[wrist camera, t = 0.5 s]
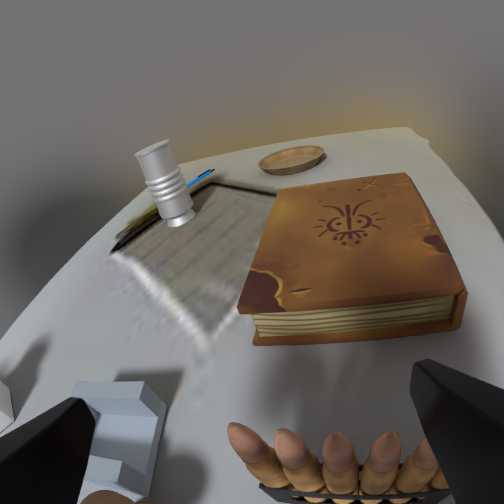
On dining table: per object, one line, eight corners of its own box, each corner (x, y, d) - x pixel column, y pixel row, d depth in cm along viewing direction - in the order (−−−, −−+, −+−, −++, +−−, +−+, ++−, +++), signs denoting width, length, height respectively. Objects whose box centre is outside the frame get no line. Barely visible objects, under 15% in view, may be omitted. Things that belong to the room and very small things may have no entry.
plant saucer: (247, 179, 67) (244, 168, 66) (286, 155, 75) (283, 145, 74) (302, 182, 57) (299, 169, 56) (337, 155, 65) (335, 144, 64)
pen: (215, 170, 81) (214, 167, 81) (162, 205, 70) (160, 201, 70) (213, 170, 82) (212, 167, 81) (160, 205, 71) (158, 201, 70)
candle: (174, 212, 63) (147, 146, 55) (203, 207, 60) (176, 136, 52) (158, 230, 57) (126, 158, 50) (187, 226, 55) (156, 148, 47)
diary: (457, 333, 22) (469, 284, 19) (255, 349, 28) (236, 306, 25) (412, 207, 40) (410, 170, 37) (287, 223, 46) (278, 188, 43)
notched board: (148, 497, 17) (117, 482, 15) (76, 480, 18) (45, 461, 16) (167, 405, 24) (144, 381, 22) (100, 403, 26) (76, 380, 24)
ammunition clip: (275, 501, 15) (197, 442, 9) (281, 477, 17) (214, 399, 10) (438, 503, 11) (521, 439, 5) (440, 478, 13) (514, 391, 6)
